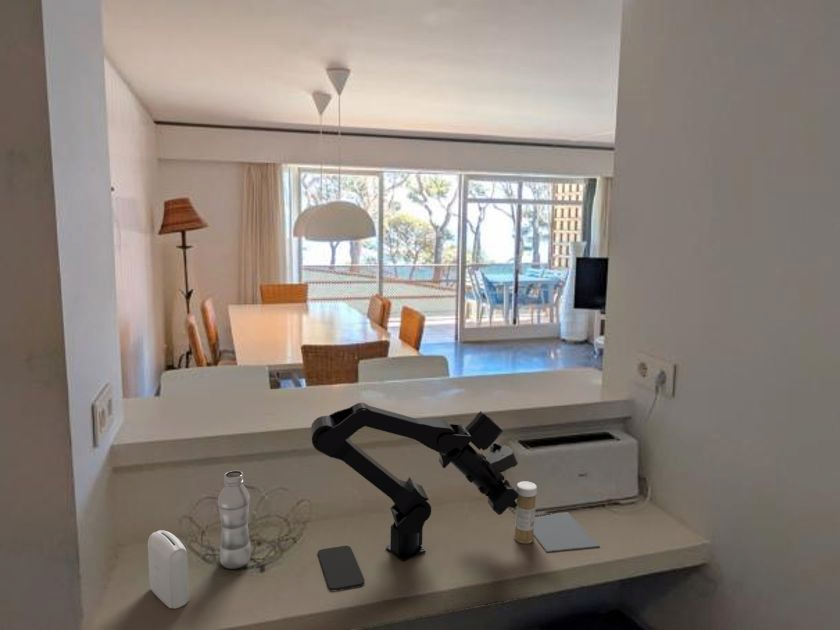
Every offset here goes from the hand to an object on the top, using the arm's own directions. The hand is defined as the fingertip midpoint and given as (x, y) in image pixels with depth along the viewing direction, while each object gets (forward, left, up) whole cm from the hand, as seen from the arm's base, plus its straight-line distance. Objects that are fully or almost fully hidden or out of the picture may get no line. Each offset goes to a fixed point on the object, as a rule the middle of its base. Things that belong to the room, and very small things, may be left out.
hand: (515, 505), depth 136 cm
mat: (+12, -4, -8) cm, 15 cm away
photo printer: (-69, +26, -9) cm, 74 cm away
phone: (-38, +14, -9) cm, 41 cm away
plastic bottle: (-55, +28, -9) cm, 62 cm away
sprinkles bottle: (+2, -1, -9) cm, 9 cm away
